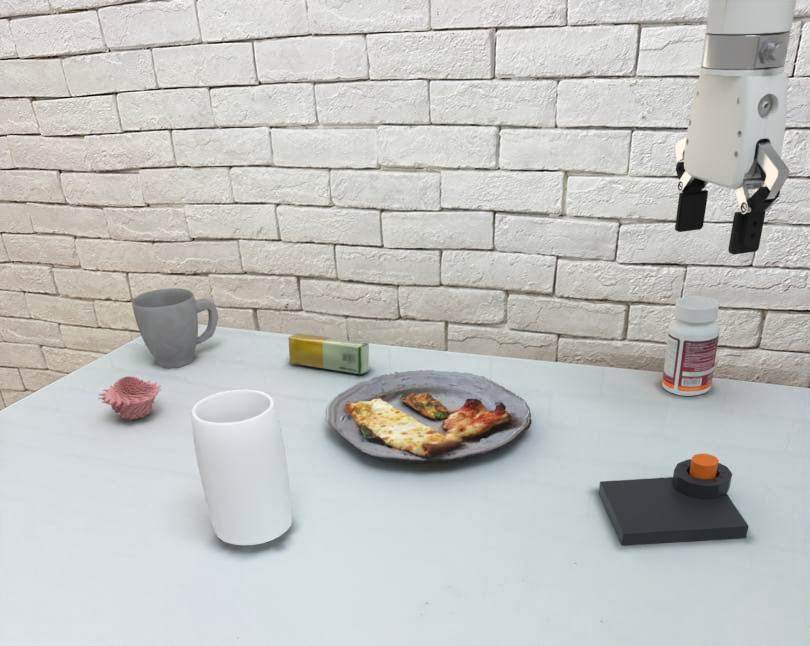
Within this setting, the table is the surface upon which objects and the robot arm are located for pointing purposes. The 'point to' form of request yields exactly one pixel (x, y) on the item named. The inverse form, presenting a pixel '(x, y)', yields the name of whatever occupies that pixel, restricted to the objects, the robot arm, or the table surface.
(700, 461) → the button
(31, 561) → the table surface
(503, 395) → the food plate
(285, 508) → the cup
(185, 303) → the mug
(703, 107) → the robot arm
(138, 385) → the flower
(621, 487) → the scale
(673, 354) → the pill bottle
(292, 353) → the medication box
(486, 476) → the table surface
